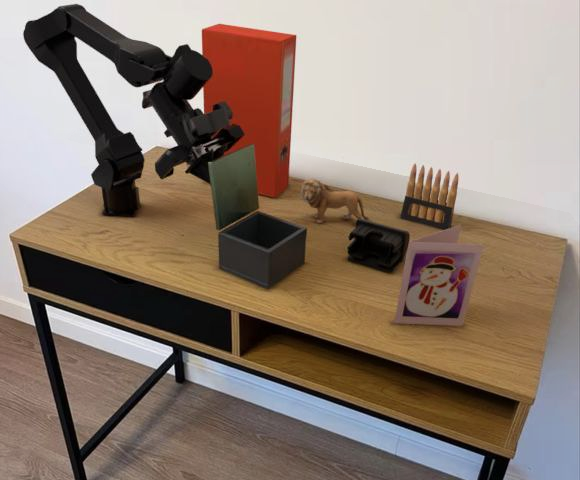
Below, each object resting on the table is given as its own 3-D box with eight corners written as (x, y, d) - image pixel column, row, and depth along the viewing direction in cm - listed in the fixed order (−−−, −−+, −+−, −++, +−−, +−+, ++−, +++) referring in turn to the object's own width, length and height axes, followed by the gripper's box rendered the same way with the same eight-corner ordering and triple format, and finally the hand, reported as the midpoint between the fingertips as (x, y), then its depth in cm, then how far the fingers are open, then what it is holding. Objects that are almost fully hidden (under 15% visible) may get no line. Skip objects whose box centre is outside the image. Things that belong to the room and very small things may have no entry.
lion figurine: (300, 226, 131) (302, 184, 125) (298, 214, 135) (300, 174, 129) (370, 227, 132) (376, 186, 126) (366, 215, 136) (371, 175, 131)
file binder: (222, 171, 152) (220, 22, 132) (288, 185, 147) (296, 34, 127) (205, 182, 146) (200, 29, 126) (274, 198, 141) (280, 41, 121)
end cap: (406, 258, 122) (412, 226, 118) (393, 274, 117) (399, 241, 113) (358, 245, 126) (362, 213, 121) (344, 260, 120) (347, 227, 116)
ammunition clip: (400, 218, 136) (409, 163, 129) (403, 214, 137) (412, 160, 130) (448, 230, 132) (460, 175, 125) (451, 227, 134) (463, 172, 126)
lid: (254, 144, 112) (250, 143, 112) (211, 162, 104) (207, 162, 104) (259, 208, 118) (256, 207, 119) (219, 230, 111) (216, 229, 111)
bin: (304, 263, 119) (307, 228, 114) (268, 289, 111) (269, 252, 106) (257, 245, 123) (257, 210, 119) (218, 268, 116) (218, 232, 111)
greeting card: (394, 326, 104) (409, 244, 95) (389, 301, 110) (402, 222, 101) (463, 328, 104) (485, 247, 95) (454, 303, 110) (473, 225, 101)
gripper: (161, 100, 99) (218, 186, 101) (236, 76, 111) (285, 153, 113) (131, 138, 107) (183, 217, 109) (203, 113, 120) (249, 184, 122)
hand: (227, 191), depth 113 cm, fingers closed
